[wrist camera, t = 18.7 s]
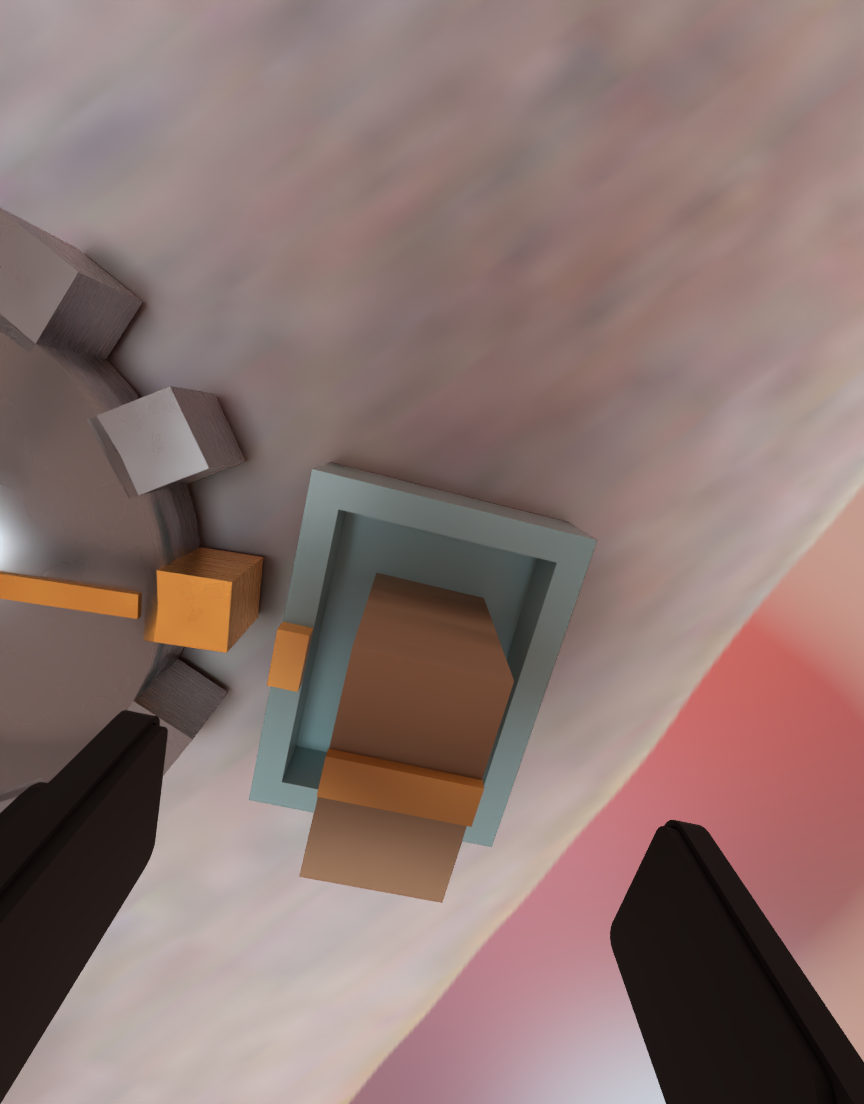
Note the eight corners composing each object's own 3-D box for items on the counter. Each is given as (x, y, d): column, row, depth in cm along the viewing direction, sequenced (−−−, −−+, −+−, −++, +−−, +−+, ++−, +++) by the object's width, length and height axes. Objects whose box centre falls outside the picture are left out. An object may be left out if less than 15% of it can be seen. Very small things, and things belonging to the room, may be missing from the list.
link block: (375, 572, 17) (350, 650, 11) (484, 598, 18) (517, 687, 11) (336, 738, 19) (295, 886, 13) (436, 759, 19) (443, 913, 13)
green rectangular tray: (330, 462, 17) (307, 470, 14) (568, 522, 18) (604, 544, 14) (274, 746, 20) (242, 813, 17) (481, 788, 21) (493, 861, 17)
